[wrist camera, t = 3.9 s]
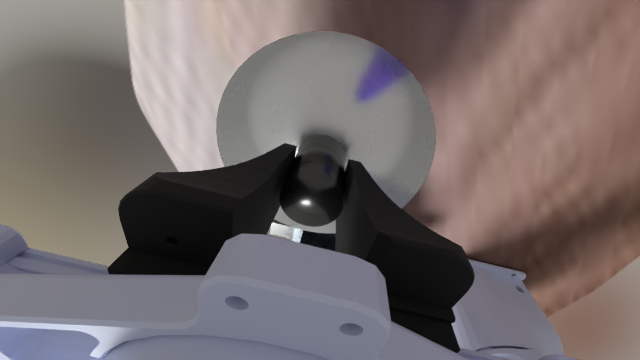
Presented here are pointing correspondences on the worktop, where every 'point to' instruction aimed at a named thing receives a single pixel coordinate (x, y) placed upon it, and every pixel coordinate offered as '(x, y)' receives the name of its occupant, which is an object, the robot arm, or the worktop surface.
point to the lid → (328, 121)
